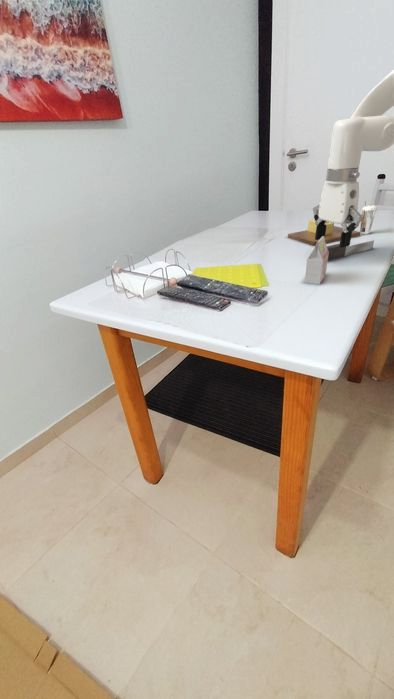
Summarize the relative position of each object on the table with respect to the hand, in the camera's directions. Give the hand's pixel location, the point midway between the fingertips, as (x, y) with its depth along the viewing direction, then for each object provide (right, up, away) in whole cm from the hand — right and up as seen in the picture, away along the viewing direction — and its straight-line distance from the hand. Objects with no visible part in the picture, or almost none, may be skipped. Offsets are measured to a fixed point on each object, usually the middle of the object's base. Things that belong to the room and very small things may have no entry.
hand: (331, 242), depth 96 cm
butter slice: (+7, +10, +21) cm, 24 cm away
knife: (+6, -2, +4) cm, 8 cm away
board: (+6, +10, +23) cm, 26 cm away
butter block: (+5, +12, +25) cm, 28 cm away
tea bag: (-8, -13, -10) cm, 18 cm away
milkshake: (+21, +11, +23) cm, 33 cm away
